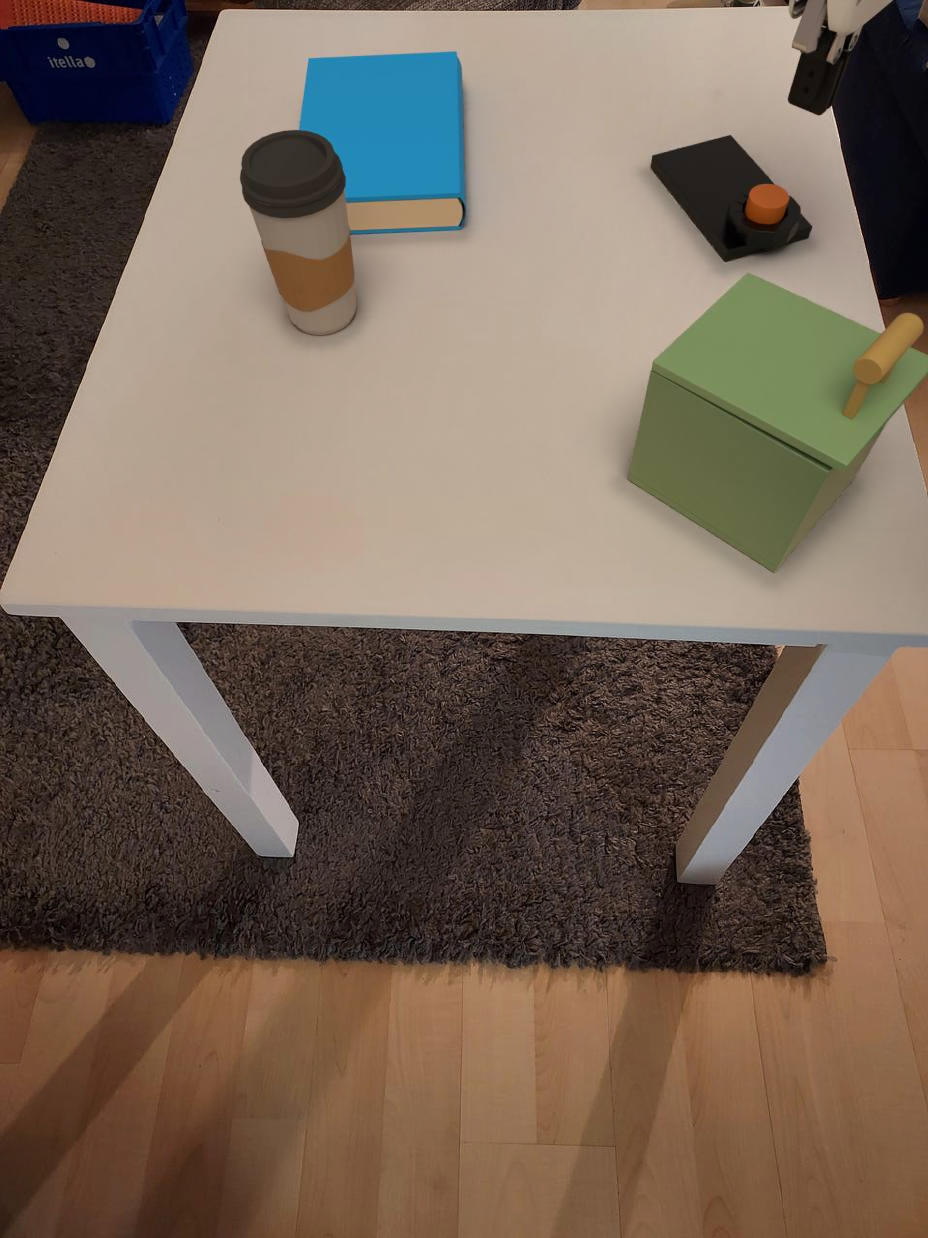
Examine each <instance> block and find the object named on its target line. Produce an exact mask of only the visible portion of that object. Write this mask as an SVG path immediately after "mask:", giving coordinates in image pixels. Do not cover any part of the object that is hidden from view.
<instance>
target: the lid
mask: <svg viewBox="0 0 928 1238" xmlns="http://www.w3.org/2000/svg"><path fill="white" fill-rule="evenodd" d="M923 332H924V323H923V320H922V319H921V318H920V316H918V315H917V314H915V313H911V312H904V313H901V314H898V315H897V316H896V317H895V318H894V319H893V320H892V321H891V322H890V324H888V326H887V327H886V328H885V329H884V330H883V331H882V332H879V331H876V330H874V329H872V328H870V327H867V326H866V325H864V324H861V323H859V322H857V321H855V320H853V319H850V318H848V317H846V316H844V315H842V314H840V313H837V312H835V311H833V310H831V309H830V308H829V309H828V308H826V307H825V306H822V305H820V304H818V303H816V302H813V301H811V300H809V299H808V298H805V297H802V296H801V295H799V294H796V293H794V292H792V291H790V290H787V289H785V288H784V287H781V286H779V285H777V284H775V283H773V282H770V281H768V280H766V279H763V277H762V278H761V277H760V276H758V275H755V274H753V273H752V272H747V273H745V274H744V275H743V276H742V277H741V278H740V279H738V281H736V283H735V284H734V285H733V286H731V287H730V288H729V289H728V290H727V291H726V292H724V294H723V295H722V296H721V297H720V298H718V300H716V301H715V302H714V303H713V304H712V305H711V306H709V308H708V309H707V310H706V311H705V312H704V313H702V315H701V316H699V317H698V318H697V319H696V320H695V321H694V322H693V323H692V324H691V325H690V326H688V327H687V329H686V330H684V331H683V332H682V333H681V334H680V335H679V336H678V337H677V338H676V339H675V340H673V342H671V344H670V345H668V347H666V348H665V349H664V350H663V351H662V352H661V353H660V354H659V355H657V357H656V358H655V359H653V360H652V364H651V370H653V371H655V372H656V373H658V374H660V375H662V376H664V377H666V378H668V379H669V380H671V381H673V382H675V383H677V384H679V385H681V386H682V387H684V388H686V389H688V390H690V391H692V392H693V393H695V394H697V395H699V396H701V397H703V398H705V399H706V400H708V401H710V402H712V403H714V404H716V405H718V406H719V407H721V408H723V409H725V410H727V411H729V412H731V413H732V414H734V415H736V416H738V417H740V418H742V419H744V420H745V421H747V422H749V423H751V424H753V425H755V426H757V427H758V428H760V429H762V430H764V431H766V432H768V433H770V434H771V435H773V436H775V437H777V438H779V439H781V440H782V441H784V442H786V443H788V444H790V445H792V446H794V447H795V448H797V449H799V450H801V451H803V452H805V453H807V454H808V455H810V456H812V457H814V458H816V459H818V460H820V461H821V462H823V463H825V464H827V465H829V466H831V467H833V468H834V469H836V470H838V471H840V472H842V473H844V472H845V471H846V470H847V469H848V467H849V466H850V465H851V464H852V463H853V462H854V460H855V459H856V458H857V457H858V456H859V455H860V453H861V452H862V451H863V450H864V449H865V448H866V446H867V445H868V444H869V443H870V442H871V441H872V439H873V438H874V437H875V436H876V435H877V434H878V432H879V431H880V430H881V429H882V428H883V427H884V425H885V424H886V423H888V422H889V421H890V420H891V419H892V417H894V415H895V414H896V413H897V412H898V410H900V408H901V407H902V406H903V405H904V403H906V401H907V400H908V399H909V398H910V396H911V395H912V394H913V393H914V392H915V391H916V390H917V388H918V387H919V386H920V385H921V384H922V383H923V381H924V380H925V379H926V378H927V377H928V354H927V353H924V352H922V351H920V350H917V349H915V348H913V347H912V346H913V345H914V343H915V342H916V341H917V340H918V339H919V338H920V336H922V334H923ZM886 425H887V424H886ZM886 425H885V426H886ZM884 428H885V427H884Z"/></svg>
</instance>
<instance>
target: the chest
mask: <svg viewBox="0 0 928 1238" xmlns="http://www.w3.org/2000/svg"><path fill="white" fill-rule="evenodd" d="M887 423H888V422H887ZM887 423H886V424H885V425H884V427H883V428H882V429H881V430H880V431H879V432H878V434H877V435H876V436H875V437H874V438H873V439H872V441H871V442H870V443H869V444H868V445H867V446H866V448H865V449H864V450H863V451H862V452H861V453H860V455H859V456H858V457H857V458H856V459H855V460H854V462H853V463H852V464H851V465H850V466H849V467H848V469H847V470H846V471H845V472H844V473H842V472H840V471H838V470H836V469H834V468H833V467H831V466H829V465H827V464H825V463H823V462H821V461H820V460H818V459H816V458H814V457H812V456H810V455H808V454H807V453H805V452H803V451H801V450H799V449H797V448H795V447H794V446H792V445H790V444H788V443H786V442H784V441H782V440H781V439H779V438H777V437H775V436H773V435H771V434H770V433H768V432H766V431H764V430H762V429H760V428H758V427H757V426H755V425H753V424H751V423H749V422H747V421H745V420H744V419H742V418H740V417H738V416H736V415H734V414H732V413H731V412H729V411H727V410H725V409H723V408H721V407H719V406H718V405H716V404H714V403H712V402H710V401H708V400H706V399H705V398H703V397H701V396H699V395H697V394H695V393H693V392H692V391H690V390H688V389H686V388H684V387H682V386H681V385H679V384H677V383H675V382H673V381H671V380H669V379H668V378H666V377H664V376H662V375H660V374H658V373H656V372H655V371H653V370H652V369H651V370H650V372H649V377H648V382H647V387H646V391H645V396H644V401H643V405H642V410H641V414H640V420H639V423H638V424H639V425H638V428H637V434H636V438H635V444H634V447H633V452H632V456H631V461H630V467H629V471H628V474H627V475H628V476H627V480H628V481H629V482H631V483H632V484H634V485H635V486H637V487H639V488H640V489H642V490H643V491H645V492H647V493H648V494H650V495H651V496H653V497H654V498H656V499H657V500H659V501H661V502H662V503H664V504H665V505H666V506H668V507H670V508H672V509H673V510H675V511H676V512H678V513H679V514H681V515H683V516H684V517H686V518H687V519H689V520H691V521H692V522H693V523H695V524H696V525H698V526H700V527H701V528H703V529H704V530H706V531H708V532H710V533H711V534H713V535H714V536H715V537H717V538H719V539H721V540H722V541H723V542H725V543H727V544H729V545H730V546H731V547H733V548H734V549H736V550H738V551H739V552H741V553H743V554H744V555H745V556H747V557H749V558H750V559H752V560H754V561H755V562H756V563H758V564H760V565H762V566H763V567H764V568H766V569H767V570H769V571H771V572H772V573H776V572H777V571H778V569H779V568H780V567H781V566H782V565H783V564H784V563H785V561H786V560H787V559H788V558H789V556H791V554H792V553H793V552H794V551H795V549H796V548H797V547H798V546H799V544H800V543H801V542H802V541H803V540H804V539H805V538H806V536H807V535H808V534H809V533H810V532H811V531H812V529H813V528H814V527H815V526H816V525H817V524H818V522H819V521H820V520H821V519H822V518H823V516H825V514H826V513H827V512H828V511H829V509H830V508H831V507H832V506H833V504H835V503H836V501H837V500H838V499H839V498H840V496H841V495H842V494H843V493H844V492H845V490H846V489H847V488H848V487H849V486H850V485H851V484H852V482H853V481H854V480H855V478H856V477H857V474H858V473H859V471H860V469H861V468H862V466H863V464H864V463H865V461H866V459H867V458H868V456H869V454H870V453H871V451H872V449H873V448H874V446H875V444H876V443H877V441H878V439H879V437H880V435H881V433H882V432H883V430H884V428H885V427H886V426H887Z"/></svg>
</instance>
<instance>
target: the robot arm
mask: <svg viewBox="0 0 928 1238" xmlns="http://www.w3.org/2000/svg"><path fill="white" fill-rule="evenodd" d="M891 2H893V0H789V2H788V14H789V16H790V18H791V19H792V20H797V19H799V18H800V17H801V18H800V20H799V23H798V25H797V29H796V31H795V34H794V36H793V39H792V41H791V49H795V50H797V51H799V52H800V56H799V58H798V62H797V64H796V65H797V66H796V67H795V72H794V75H793V79H792V81H791V85H790V88H789V92H788V96H787V102H788V104H790V105H792V106H794V107H797V108H799V109H801V110H804V111H806V112H808V113H810V114H813V115H816V116H822V115H823V114H824V113H826V111H827V110H829V109H830V108H832V106H834V105H835V102H836V99H837V96H838V93H839V90H840V87H841V84H842V81H843V78H844V76H845V73H846V70H847V67H848V64H849V61H850V59H851V55H852V54H851V53H849V52H851V51H852V50H853V49H854V47H855V46H856V44H857V42H858V39H859V36H860V34H861V32H862V29H863V26H864V25H865V24H867V22H869V21H870V20H871V19H873V18H874V17H876V15H878V13H880V12H881V11H882V10H883V9H885V8H886V7H887V6H888V5H889V4H891Z"/></svg>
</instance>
